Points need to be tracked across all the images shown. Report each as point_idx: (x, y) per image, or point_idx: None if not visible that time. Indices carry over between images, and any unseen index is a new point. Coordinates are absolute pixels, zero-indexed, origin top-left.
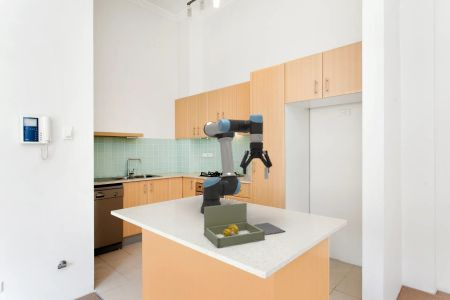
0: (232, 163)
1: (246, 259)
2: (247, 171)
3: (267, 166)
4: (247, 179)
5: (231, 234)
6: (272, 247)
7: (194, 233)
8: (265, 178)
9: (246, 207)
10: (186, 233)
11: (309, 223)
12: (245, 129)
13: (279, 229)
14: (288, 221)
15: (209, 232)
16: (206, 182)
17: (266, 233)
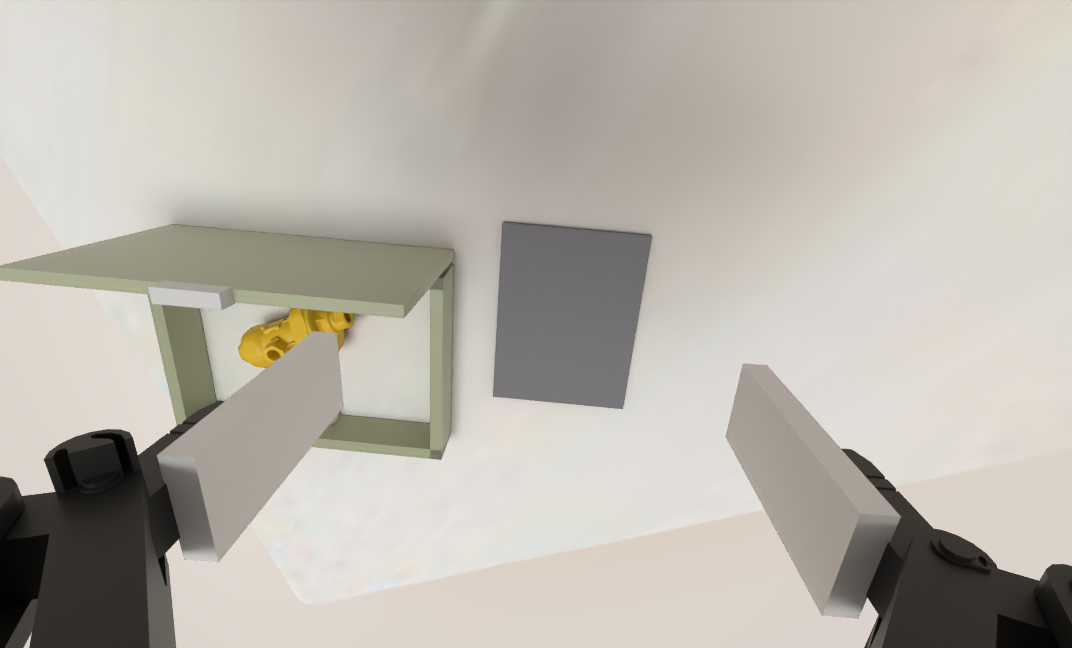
0: None
1: (284, 531)
2: (252, 508)
3: (871, 636)
4: (331, 412)
5: None
6: (431, 504)
7: (118, 170)
8: (740, 392)
9: (413, 304)
10: (67, 145)
11: (888, 365)
12: None
13: (612, 377)
14: (817, 265)
15: (159, 324)
16: None
17: (501, 391)
